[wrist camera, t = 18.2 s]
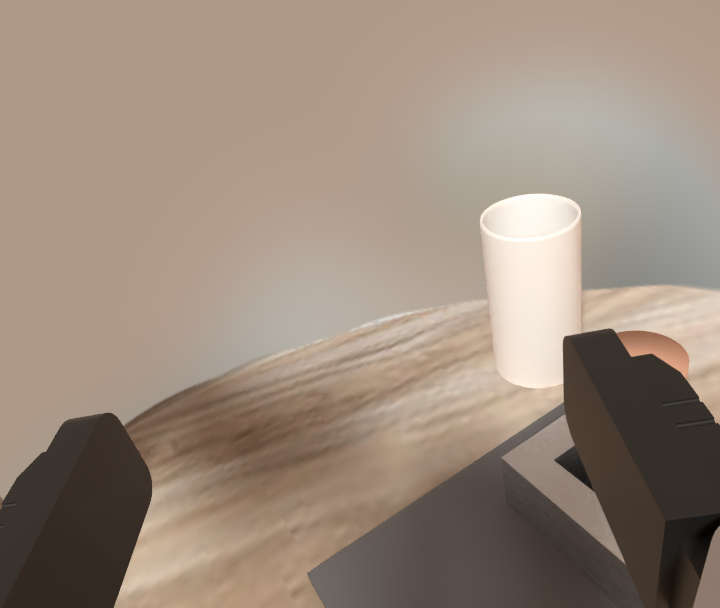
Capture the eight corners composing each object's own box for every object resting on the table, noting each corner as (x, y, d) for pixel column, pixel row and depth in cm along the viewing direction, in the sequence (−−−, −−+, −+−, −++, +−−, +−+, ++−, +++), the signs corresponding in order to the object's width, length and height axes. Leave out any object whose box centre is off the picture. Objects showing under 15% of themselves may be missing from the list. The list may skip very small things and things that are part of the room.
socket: (506, 502, 44) (500, 457, 41) (616, 423, 48) (619, 377, 45) (646, 633, 35) (651, 586, 32) (769, 522, 39) (783, 471, 36)
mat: (310, 581, 43) (306, 573, 42) (582, 398, 52) (582, 390, 52) (454, 831, 30) (451, 825, 29) (784, 528, 39) (786, 518, 38)
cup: (565, 397, 53) (562, 243, 44) (481, 376, 57) (463, 233, 49) (592, 343, 58) (593, 196, 49) (512, 328, 62) (501, 190, 54)
